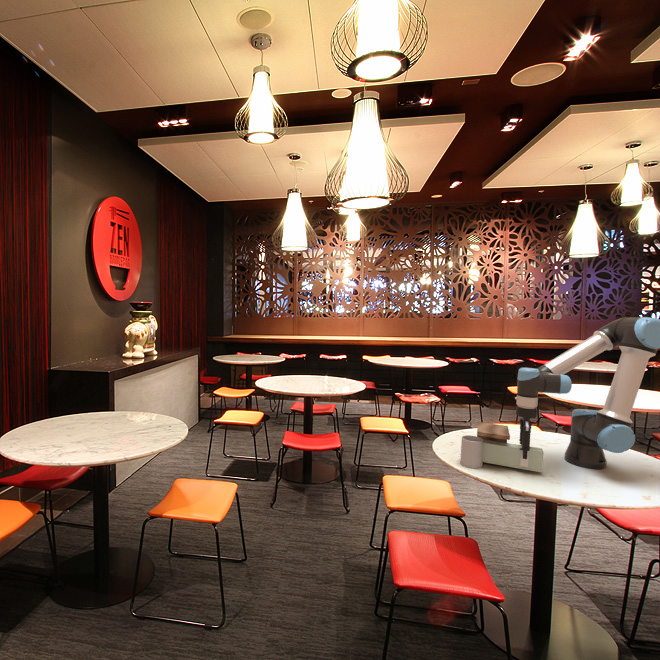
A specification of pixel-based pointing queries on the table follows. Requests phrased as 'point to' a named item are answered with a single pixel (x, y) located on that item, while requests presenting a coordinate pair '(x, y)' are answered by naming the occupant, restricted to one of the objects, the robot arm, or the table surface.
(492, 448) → the pale green block
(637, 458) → the table surface
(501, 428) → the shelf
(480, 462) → the mug
